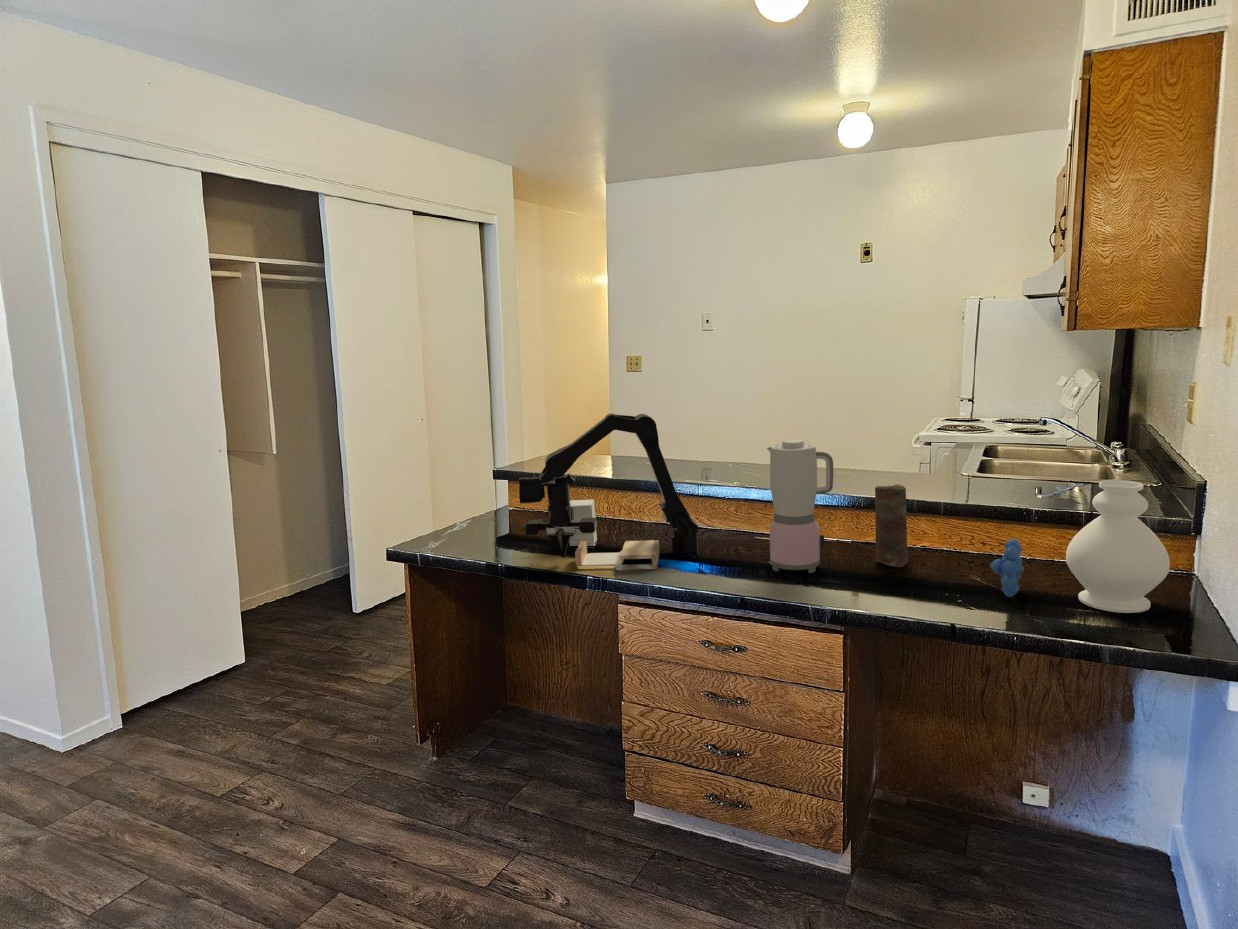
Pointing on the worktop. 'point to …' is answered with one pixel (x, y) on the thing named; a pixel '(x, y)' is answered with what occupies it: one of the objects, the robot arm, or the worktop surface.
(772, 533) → the blender
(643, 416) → the robot arm
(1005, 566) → the grapes
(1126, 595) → the decorative vase
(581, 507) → the supplement box
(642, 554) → the beige open box
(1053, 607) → the worktop surface
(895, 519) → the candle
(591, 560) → the beige blocky piece
